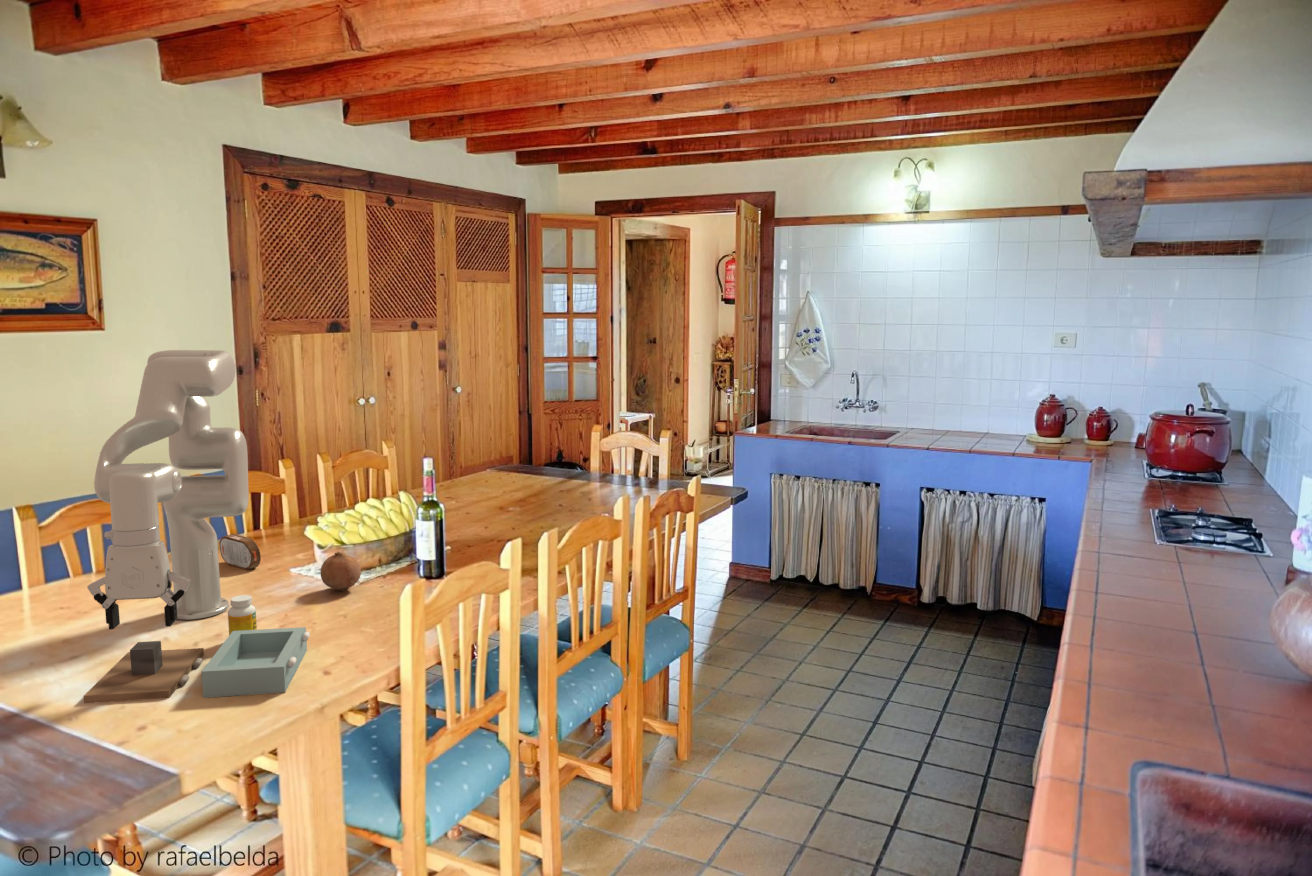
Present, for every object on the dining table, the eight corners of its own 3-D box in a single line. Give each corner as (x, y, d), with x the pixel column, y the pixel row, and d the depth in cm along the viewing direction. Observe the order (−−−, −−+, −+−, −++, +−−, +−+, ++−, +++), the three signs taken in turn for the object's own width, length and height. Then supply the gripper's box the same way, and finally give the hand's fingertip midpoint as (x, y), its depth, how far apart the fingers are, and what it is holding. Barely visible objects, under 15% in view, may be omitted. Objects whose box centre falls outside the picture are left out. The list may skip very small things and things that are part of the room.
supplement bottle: (228, 639, 186) (225, 596, 184) (256, 635, 188) (253, 592, 187) (230, 648, 181) (227, 603, 180) (258, 643, 184) (256, 599, 182)
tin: (262, 570, 234) (260, 539, 232) (251, 573, 231) (249, 542, 230) (229, 560, 241) (227, 531, 240) (218, 563, 239) (216, 533, 238)
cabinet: (234, 654, 178) (232, 631, 177) (313, 650, 181) (312, 626, 180) (203, 697, 158) (201, 671, 158) (292, 692, 161) (290, 666, 161)
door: (128, 659, 175) (126, 628, 174) (210, 654, 178) (208, 624, 177) (84, 704, 156) (80, 669, 155) (176, 698, 159) (174, 663, 158)
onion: (315, 590, 218) (313, 551, 216) (351, 582, 224) (349, 544, 223) (331, 599, 211) (330, 559, 209) (368, 591, 217) (367, 552, 216)
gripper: (75, 543, 157) (82, 635, 159) (180, 539, 160) (185, 629, 162) (94, 533, 164) (100, 621, 166) (193, 530, 168) (198, 616, 170)
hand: (142, 625), depth 164 cm, fingers open, 9 cm apart
